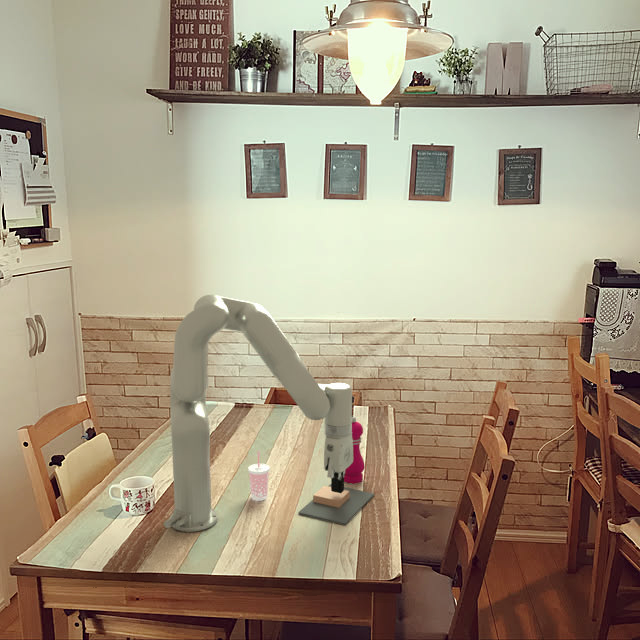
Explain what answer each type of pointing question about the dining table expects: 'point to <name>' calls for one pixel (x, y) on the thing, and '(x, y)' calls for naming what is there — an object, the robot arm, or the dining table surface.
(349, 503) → the mat
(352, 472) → the pepper mill
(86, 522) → the dining table surface
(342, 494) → the tile
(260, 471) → the beverage cup
